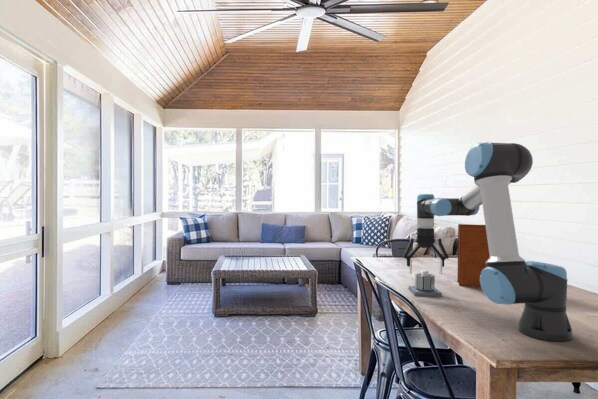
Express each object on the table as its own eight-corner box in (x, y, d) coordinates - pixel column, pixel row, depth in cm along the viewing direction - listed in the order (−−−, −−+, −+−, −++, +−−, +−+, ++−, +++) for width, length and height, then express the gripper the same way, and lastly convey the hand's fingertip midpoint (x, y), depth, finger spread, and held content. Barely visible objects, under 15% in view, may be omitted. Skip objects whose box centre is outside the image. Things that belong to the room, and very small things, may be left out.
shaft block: (441, 296, 174) (442, 274, 174) (414, 295, 175) (414, 273, 175) (434, 289, 186) (434, 268, 186) (408, 289, 187) (408, 268, 187)
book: (458, 285, 195) (459, 225, 195) (457, 281, 203) (458, 224, 202) (510, 289, 188) (511, 226, 188) (506, 285, 196) (507, 225, 196)
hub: (436, 290, 176) (436, 277, 176) (418, 290, 177) (418, 276, 177) (431, 286, 184) (431, 273, 184) (413, 285, 185) (414, 273, 185)
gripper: (450, 227, 183) (450, 272, 183) (396, 226, 185) (396, 271, 185) (456, 228, 176) (455, 275, 176) (399, 227, 177) (399, 274, 177)
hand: (425, 273), depth 180 cm, fingers open, 13 cm apart
